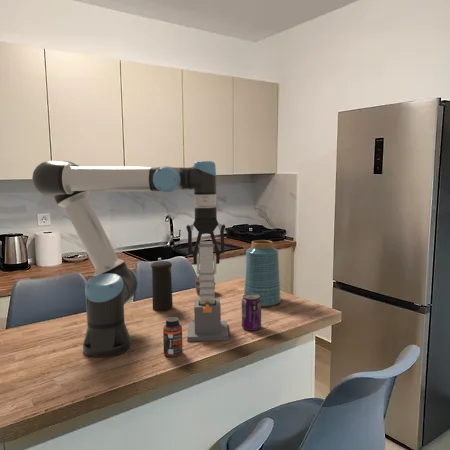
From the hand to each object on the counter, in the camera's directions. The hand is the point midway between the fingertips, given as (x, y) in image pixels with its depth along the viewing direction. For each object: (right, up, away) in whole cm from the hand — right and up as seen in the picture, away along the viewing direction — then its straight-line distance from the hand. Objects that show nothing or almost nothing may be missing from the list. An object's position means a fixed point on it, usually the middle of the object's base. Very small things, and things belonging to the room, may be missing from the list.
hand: (206, 273), depth 142 cm
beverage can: (+16, -21, +7) cm, 27 cm away
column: (0, -12, +2) cm, 12 cm away
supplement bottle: (-10, -24, -13) cm, 29 cm away
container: (-20, -19, +30) cm, 40 cm away
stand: (0, -22, +3) cm, 22 cm away
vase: (+23, -17, +37) cm, 46 cm away
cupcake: (-3, -16, +49) cm, 52 cm away
